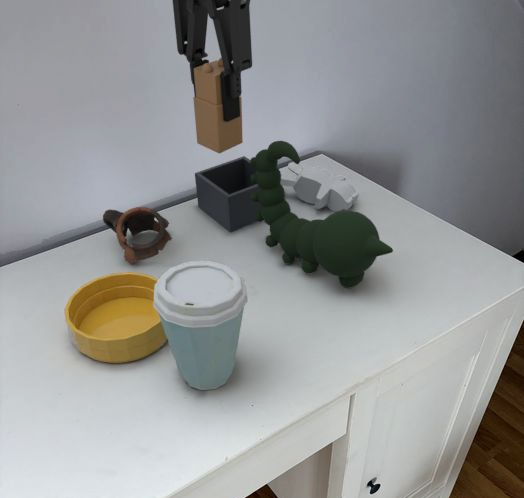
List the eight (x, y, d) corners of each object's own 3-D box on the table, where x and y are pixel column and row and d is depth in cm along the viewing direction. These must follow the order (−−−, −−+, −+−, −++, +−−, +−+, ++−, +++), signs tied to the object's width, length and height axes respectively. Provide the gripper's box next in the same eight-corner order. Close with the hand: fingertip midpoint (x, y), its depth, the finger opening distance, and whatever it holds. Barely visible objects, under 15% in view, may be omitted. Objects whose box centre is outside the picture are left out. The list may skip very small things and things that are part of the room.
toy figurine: (245, 258, 93) (368, 316, 79) (231, 144, 81) (375, 188, 66) (284, 235, 98) (407, 286, 83) (277, 124, 85) (420, 161, 71)
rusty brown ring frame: (183, 236, 96) (179, 212, 88) (160, 284, 93) (154, 263, 85) (118, 210, 96) (108, 184, 88) (93, 257, 94) (81, 234, 86)
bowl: (52, 332, 78) (43, 307, 75) (133, 284, 86) (128, 260, 83) (114, 381, 72) (106, 356, 68) (196, 325, 79) (193, 300, 76)
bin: (198, 207, 102) (194, 173, 97) (245, 189, 106) (244, 155, 101) (230, 232, 95) (228, 197, 91) (279, 212, 100) (279, 178, 95)
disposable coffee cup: (180, 340, 77) (165, 247, 66) (258, 348, 75) (255, 255, 65) (157, 399, 69) (136, 305, 59) (243, 409, 68) (237, 315, 57)
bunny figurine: (342, 201, 94) (268, 169, 99) (337, 227, 98) (265, 194, 103) (368, 178, 100) (296, 148, 105) (361, 203, 104) (293, 173, 108)
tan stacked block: (195, 142, 87) (187, 59, 79) (218, 132, 90) (214, 50, 81) (219, 153, 85) (214, 69, 76) (242, 142, 87) (240, 60, 79)
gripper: (280, -79, 65) (280, 121, 81) (177, -92, 74) (195, 91, 91) (234, -70, 61) (243, 138, 78) (131, -85, 70) (159, 105, 87)
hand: (217, 112), depth 84 cm, fingers closed on tan stacked block, 5 cm apart
